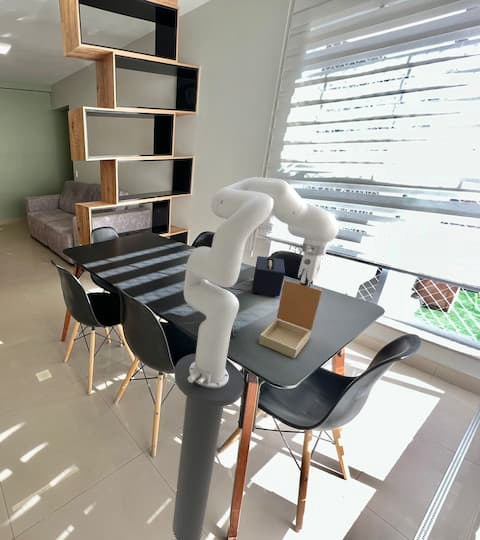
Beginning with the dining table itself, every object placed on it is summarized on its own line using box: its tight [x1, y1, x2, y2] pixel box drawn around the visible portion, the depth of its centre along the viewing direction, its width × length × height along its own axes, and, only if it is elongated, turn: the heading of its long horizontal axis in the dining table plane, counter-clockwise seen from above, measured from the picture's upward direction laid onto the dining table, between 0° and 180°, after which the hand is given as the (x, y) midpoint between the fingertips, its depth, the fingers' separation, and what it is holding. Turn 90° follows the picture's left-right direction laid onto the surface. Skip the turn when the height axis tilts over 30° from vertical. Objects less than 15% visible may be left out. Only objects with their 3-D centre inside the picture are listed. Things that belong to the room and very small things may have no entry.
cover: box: [276, 279, 323, 331], centre depth 111 cm, size 17×13×1 cm
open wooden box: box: [257, 318, 312, 359], centre depth 110 cm, size 17×13×4 cm
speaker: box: [251, 255, 286, 298], centre depth 152 cm, size 22×13×15 cm, turn 154°
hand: (302, 293), depth 111 cm, fingers closed
